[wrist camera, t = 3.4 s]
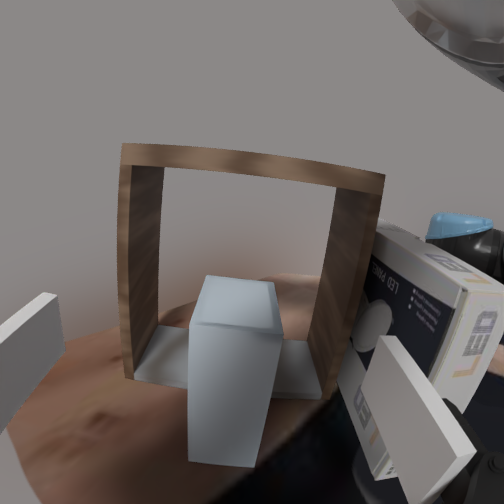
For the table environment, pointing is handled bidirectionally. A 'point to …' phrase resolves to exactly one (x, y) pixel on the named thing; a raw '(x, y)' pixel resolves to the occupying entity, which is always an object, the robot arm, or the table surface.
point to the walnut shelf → (331, 283)
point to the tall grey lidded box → (231, 369)
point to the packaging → (420, 327)
